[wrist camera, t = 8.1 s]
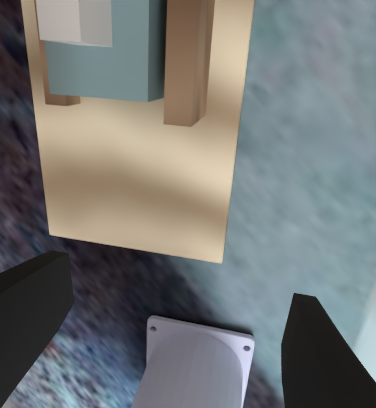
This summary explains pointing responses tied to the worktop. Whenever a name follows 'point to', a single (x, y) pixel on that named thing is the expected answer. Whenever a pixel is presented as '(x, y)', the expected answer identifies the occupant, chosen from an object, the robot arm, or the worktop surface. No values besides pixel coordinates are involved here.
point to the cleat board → (149, 140)
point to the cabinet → (105, 47)
